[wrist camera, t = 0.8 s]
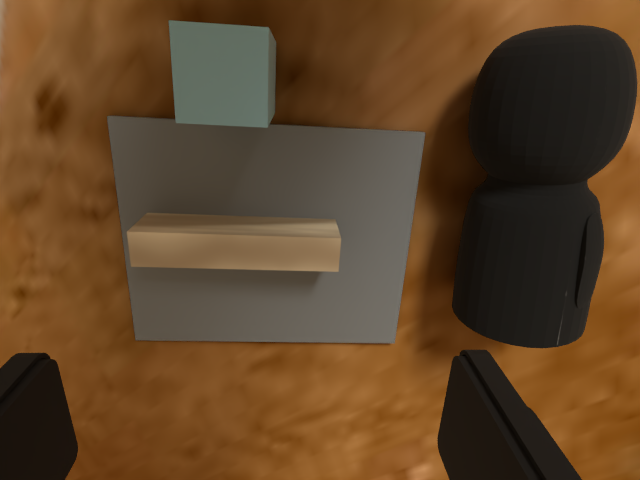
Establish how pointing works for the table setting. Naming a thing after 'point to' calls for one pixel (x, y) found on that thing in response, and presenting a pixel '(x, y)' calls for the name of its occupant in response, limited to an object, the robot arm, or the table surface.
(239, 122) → the block
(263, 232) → the plank
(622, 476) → the table surface
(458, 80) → the table surface
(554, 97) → the figurine
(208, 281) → the panel
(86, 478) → the table surface
